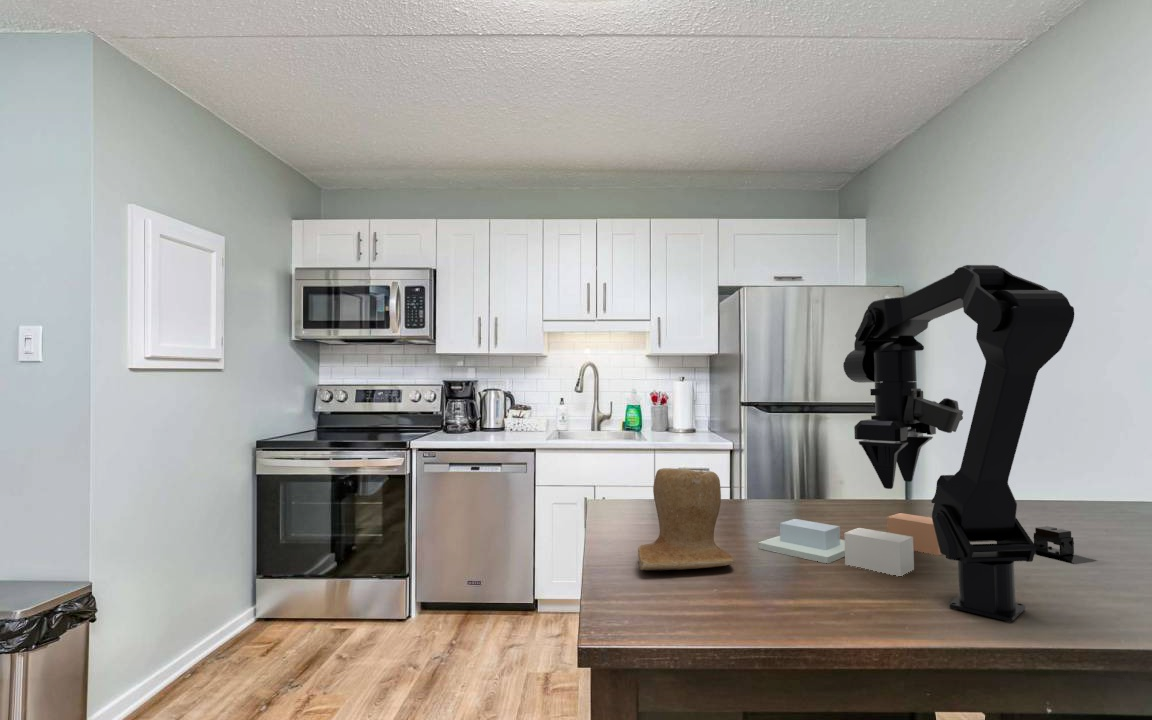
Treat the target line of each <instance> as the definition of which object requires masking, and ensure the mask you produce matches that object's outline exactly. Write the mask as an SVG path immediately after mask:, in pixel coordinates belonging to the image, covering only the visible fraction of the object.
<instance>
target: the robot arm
mask: <svg viewBox="0 0 1152 720" xmlns="http://www.w3.org/2000/svg"><path fill="white" fill-rule="evenodd" d="M960 309H963V313H964V314H965V315H966V316H967V317H968V318H970V319H971V320H972V321H973V322H975V324H977V325H976V327H977V328H976V336H975V337H976V342H977V344H978V346H979V348H980V350H981V353H982V355H983V357H984V360H985V366H984V370H983V374H982V378H981V383H980V386H979V389H978V390H979V391H978V395H977V399H976V403H975V406H974V412H973V416H972V420H971V424H970V427H969V432H968V436H967V440H966V444H965V447H964V452H963V457H962V460H961V464H960V468H959V470H958V471H957V472H956V473H955V474H942V475H940V476H939V477H938V479H937V481H936V487H935V493H934V496H933V498H932V500H931V504H934V505H933V508H932V512H931V518H932V520H933V525H934V529H935V533H936V537H937V541H938V545H939V549H940V552H941V554H942V555H944V556H945V558H946V559H947V560H951V561H957V567H958V568H957V569H958V591H959V592H958V596H956V597H955V598H954V599H953V600H951V601H950V602H949V603H948V605H949V608H952V609H955V610H959V611H964V612H969V613H973V614H976V615H980V616H985V617H989V618H993V619H996V620H997V619H998V620H1002V621H1006V622H1013V621H1015V620H1016V619H1017V617H1019V615H1021V614H1022V613H1023V612H1024V611H1025V610H1026V605H1025V604H1024V603H1020V602H1016V587H1015V586H1016V584H1015V581H1016V580H1015V562H1028V563H1030V562H1031V563H1032V562H1033V561H1034V558H1035V551H1036V546H1035V545H1034V541H1033V540H1032V539H1031V537H1030V536H1029V534H1028V533H1027V531H1026V530H1025V528H1024V527H1023V525H1022V524H1021V522H1020V521H1019V520H1018V519H1017V517H1016V516H1017V507H1018V503H1017V500H1016V498H1015V495H1014V494H1013V492H1012V489H1011V488H1010V485H1009V478H1010V474H1011V470H1012V468H1013V464H1014V459H1015V457H1016V452H1017V449H1018V445H1019V440H1020V438H1021V435H1022V432H1023V431H1022V430H1023V427H1024V423H1025V419H1026V415H1027V411H1028V408H1029V406H1030V405H1029V404H1030V401H1031V398H1032V397H1031V396H1032V394H1033V390H1034V386H1035V383H1036V380H1037V375H1038V373H1039V371H1040V369H1042V368H1043V367H1044V366H1045V365H1046V364H1047V363H1048V362H1049V361H1050V360H1051V359H1052V358H1054V357H1055V355H1056V354H1057V353H1059V352H1060V351H1061V350H1062V348H1063V345H1064V344H1065V341H1066V339H1067V336H1068V335H1069V333H1070V330H1071V328H1072V327H1073V324H1074V320H1075V309H1074V306H1072V305H1071V304H1070V302H1069V299H1068V298H1067V296H1066V295H1065V294H1064V293H1062V292H1060V291H1058V290H1051V289H1048V288H1047V287H1045V286H1044V285H1041V284H1039V283H1036V282H1034V281H1031V280H1028V279H1025V278H1024V277H1020V276H1018V275H1014V274H1013V273H1011V272H1009V271H1008V270H1006V269H1005V268H1003V267H1000V265H999V266H998V265H995V264H965V265H963V266H961V267H958V268H957V269H955V270H954V271H953V273H950V274H948V275H946V276H945V277H942V278H940V279H938V280H936V281H934V282H932V283H930V284H928V285H926V286H924V287H922V288H920V289H918V290H916V291H913V292H911V293H910V294H907V295H904V296H901V297H900V296H899V297H889V298H888V297H887V298H883V299H877V300H874V301H872V302H871V303H869V305H868V307H867V309H866V310H865V311H864V314H863V317H862V321H861V322H860V325H859V327H858V329H857V331H856V333H855V334H854V337H855V340H854V342H853V343H854V349H853V350H852V351H850V352H849V353H848V354H847V355H846V357H845V358H844V361H843V364H842V365H843V371H844V373H845V375H846V377H847V378H848V379H850V380H851V381H852V382H855V383H861V384H862V383H864V384H865V383H874V388H870V390H869V391H870V396H874V399H875V400H874V404H875V415H874V414H873V415H871V418H870V419H861V420H859V421H858V422H857V423H856V424H855V425H854V427H853V428H854V429H853V430H854V440H859V441H858V444H859V445H860V446H861V448H862V449H863V451H864V452H865V455H866V456H867V458H868V460H869V461H870V463H871V465H872V468H873V469H874V471H875V473H876V474H877V476H878V478H879V481H880V483H881V485H882V486H883V488H884V489H887V490H892V489H893V488H894V483H895V479H896V478H895V477H896V471H897V470H896V469H897V466H898V468H899V471H900V474H901V477H902V479H903V481H904V482H908V483H911V482H913V480H914V476H915V471H916V467H917V463H918V459H919V456H920V453H921V449H922V448H923V447H924V446H925V445H926V444H927V443H928V442H930V441H931V440H932V439H934V436H933V435H936V434H937V430H939V431H941V432H944V433H948V434H951V433H952V432H954V433H956V432H957V429H958V427H959V424H960V422H961V421H962V420H963V419H964V416H963V414H964V411H963V410H962V409H960V408H959V402H958V400H954V399H951V398H949V397H947V398H943V399H942V400H940V401H939V402H937V401H935V400H929V399H926V398H925V397H924V391H923V390H922V389H921V388H918V384H917V378H918V377H917V352H921V351H923V350H924V349H925V347H924V345H923V344H922V343H921V342H920V341H919V340H917V339H916V338H915V337H917V336H918V335H920V334H921V333H923V332H924V331H926V330H927V329H928V328H929V323H930V322H931V321H933V320H935V319H939V318H940V317H943V316H945V315H947V314H950V313H953V312H955V311H958V310H960ZM924 434H927V436H926V435H924ZM928 435H930V436H928ZM985 542H986V543H985ZM988 542H989V543H988ZM993 542H996V543H993Z"/></svg>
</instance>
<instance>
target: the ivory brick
mask: <svg viewBox="0 0 1152 720" xmlns="http://www.w3.org/2000/svg"><path fill="white" fill-rule="evenodd" d="M843 535H844V540H845V557H844V565H845V566H848V565H850V566H849V567H852V566H856V567H855V568H857V567H861V568H865V569H864V570H866V569H869V570H868V571H870V570H873V571H872V572H875V571H877V572H876V573H880V572H882V573H881V574H884V573H886V575H889V574H890V576H893V575H896V576H895V577H898V576H902V577H904V576H905V575H904V574H906V573H907V574H909V573H911V572H913V571H914V570H915V559H914V558H915V556H914V555H915V554H914V552H915V551H913V537H911V536H905V535H899V534H894V533H888V532H886V531H881V530H876V529H871V528H870V529H869V528H863V527H857V528H854V529H851V530H848V531H846V532H844V534H843ZM861 568H860V569H861ZM912 570H913V571H912ZM910 571H911V572H910ZM908 572H909V573H908ZM907 574H906V575H907ZM903 575H904V576H903Z"/></svg>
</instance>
